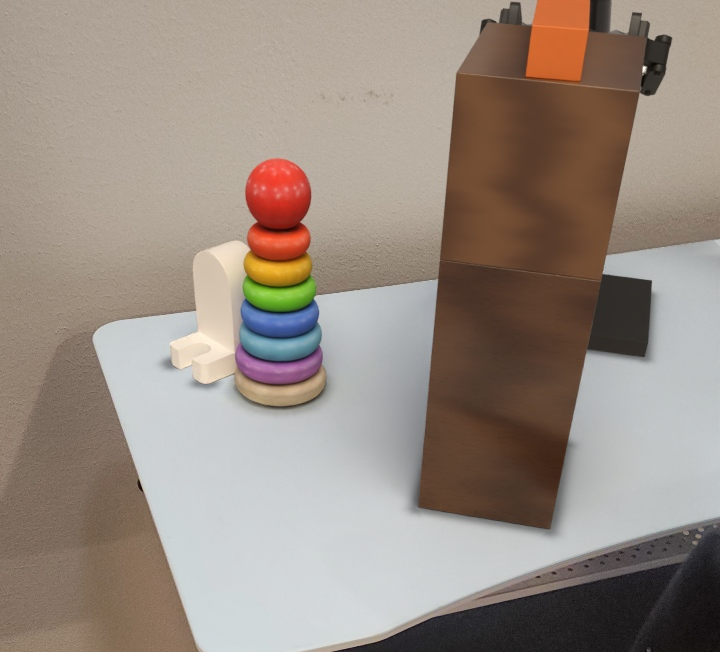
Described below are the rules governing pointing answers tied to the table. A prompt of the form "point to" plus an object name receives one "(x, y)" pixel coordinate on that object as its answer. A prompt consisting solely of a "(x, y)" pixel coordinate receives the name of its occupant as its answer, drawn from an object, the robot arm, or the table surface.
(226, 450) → the table surface
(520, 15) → the robot arm
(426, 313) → the table surface
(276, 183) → the stacking toy
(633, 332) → the rubber mat
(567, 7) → the orange bar
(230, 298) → the cable organizer
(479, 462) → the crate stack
